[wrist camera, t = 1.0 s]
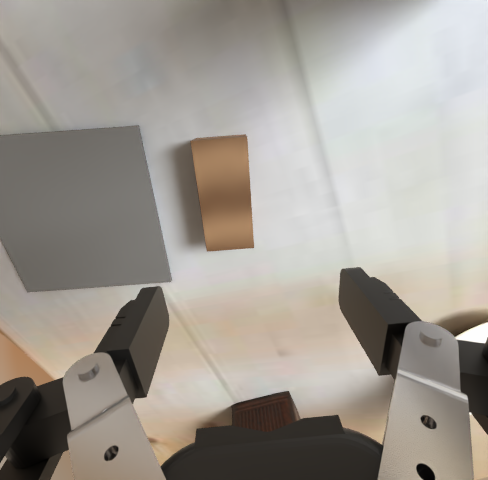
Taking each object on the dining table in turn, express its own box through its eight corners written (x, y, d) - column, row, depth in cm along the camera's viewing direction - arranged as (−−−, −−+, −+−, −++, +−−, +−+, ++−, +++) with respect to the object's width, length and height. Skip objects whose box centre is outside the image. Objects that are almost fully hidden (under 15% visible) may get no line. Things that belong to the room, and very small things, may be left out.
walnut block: (196, 138, 26) (190, 141, 23) (245, 134, 26) (247, 136, 23) (210, 236, 31) (207, 251, 28) (251, 232, 31) (253, 247, 28)
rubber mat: (-45, 138, 26) (-51, 138, 25) (138, 125, 26) (136, 125, 25) (31, 289, 33) (27, 292, 33) (171, 279, 33) (170, 281, 33)
